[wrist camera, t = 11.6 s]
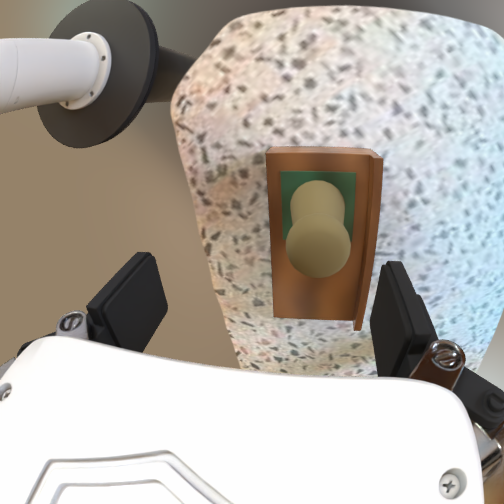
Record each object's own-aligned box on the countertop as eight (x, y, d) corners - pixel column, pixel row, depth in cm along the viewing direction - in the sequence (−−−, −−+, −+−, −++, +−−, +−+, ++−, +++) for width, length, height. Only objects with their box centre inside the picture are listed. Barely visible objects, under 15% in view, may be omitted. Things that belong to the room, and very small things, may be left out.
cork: (280, 194, 31) (263, 237, 21) (331, 171, 28) (340, 205, 19) (304, 240, 33) (298, 299, 23) (353, 220, 30) (368, 274, 21)
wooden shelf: (278, 296, 44) (271, 327, 38) (271, 146, 33) (262, 155, 27) (356, 299, 41) (360, 331, 35) (370, 148, 31) (383, 158, 25)
